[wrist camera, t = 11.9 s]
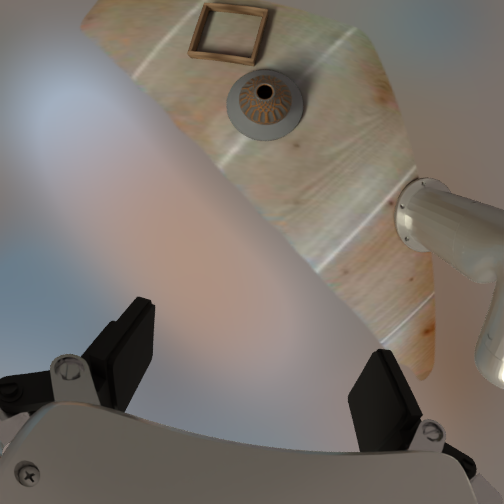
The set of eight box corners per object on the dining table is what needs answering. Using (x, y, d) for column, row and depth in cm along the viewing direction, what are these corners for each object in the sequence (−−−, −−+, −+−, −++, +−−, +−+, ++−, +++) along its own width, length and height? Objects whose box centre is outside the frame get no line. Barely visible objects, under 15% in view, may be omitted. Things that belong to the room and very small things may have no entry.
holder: (268, 15, 33) (268, 9, 31) (254, 66, 37) (253, 61, 34) (207, 8, 33) (204, 2, 31) (191, 58, 36) (187, 53, 34)
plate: (309, 81, 37) (310, 79, 36) (293, 148, 40) (293, 148, 39) (237, 66, 37) (236, 64, 36) (220, 132, 40) (219, 132, 39)
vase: (287, 81, 36) (291, 63, 28) (292, 125, 38) (298, 117, 30) (239, 85, 37) (231, 68, 28) (244, 129, 39) (237, 123, 31)
